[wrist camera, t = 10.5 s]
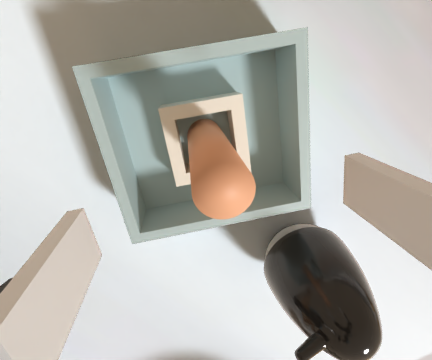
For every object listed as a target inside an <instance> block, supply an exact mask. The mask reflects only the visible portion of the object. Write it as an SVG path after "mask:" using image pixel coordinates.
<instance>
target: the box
mask: <svg viewBox="0 0 432 360" xmlns="http://www.w3.org/2000/svg"><path fill="white" fill-rule="evenodd" d="M72 69H73V71H74V74H75V77H76V80H77V83H78V86H79V89H80V92H81V95H82V98H83V101H84V104H85V107H86V110H87V113H88V116H89V119H90V121H91V124H92V127H93V130H94V133H95V136H96V139H97V142H98V145H99V148H100V151H101V154H102V157H103V160H104V163H105V166H106V168H107V171H108V174H109V177H110V180H111V183H112V186H113V189H114V192H115V195H116V198H117V201H118V204H119V207H120V210H121V213H122V216H123V218H124V221H125V224H126V227H127V230H128V233H129V236H130V239H131V242H132V244H136V243H141V242H146V241H151V240H156V239H161V238H166V237H170V236H175V235H180V234H185V233H190V232H195V231H200V230H205V229H210V228H215V227H220V226H225V225H230V224H235V223H240V222H245V221H250V220H255V219H260V218H265V217H270V216H275V215H279V214H284V213H289V212H294V211H299V210H304V209H309V208H311V170H310V120H309V69H308V27H306V28H300V29H294V30H288V31H282V32H276V33H270V34H264V35H258V36H252V37H246V38H240V39H234V40H228V41H222V42H216V43H210V44H204V45H198V46H192V47H186V48H180V49H174V50H168V51H162V52H156V53H150V54H144V55H138V56H132V57H126V58H120V59H114V60H108V61H102V62H96V63H90V64H84V65H78V66H72ZM200 119H210V120H212V121H214V122H215V123H217V125H218V126H219V127H220V129H221V130H222V132H223V133H224V134H225V136H226V137H227V139H228V140H229V142H230V143H231V145H232V146H233V147H234V149H235V150H236V152H237V153H238V155H239V156H240V158H241V159H242V160H243V162H244V163H245V165H246V166H247V168H248V169H249V171H250V172H251V173H252V175H253V177H254V180H255V184H256V192H255V197H254V199H253V201H252V203H251V205H250V206H249V207H248V208H247V209H246V210H245V211H244V212H243V213H241V214H240V215H238V216H236V217H233V218H230V219H221V220H220V219H213V218H210V217H208V216H206V215H204V214H203V213H201V212H200V211H199V210H198V208H197V207H196V206H195V204H194V202H193V199H192V192H191V179H190V166H189V153H188V140H187V133H188V130H189V128H190V126H191V125H192V124H193V123H194V122H195V121H197V120H200Z"/></svg>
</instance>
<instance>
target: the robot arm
mask: <svg viewBox="0 0 432 360" xmlns="http://www.w3.org/2000/svg"><path fill="white" fill-rule="evenodd" d="M343 203H344V204H345V205H346V206H348V207H349V208H350V209H352V210H353V211H354V212H356V213H357V214H358V215H359V216H361V217H362V218H363V219H365V220H366V221H367V222H369V223H370V224H371V225H373V226H374V227H375V228H377V229H378V230H379V231H381V232H382V233H383V234H385V235H386V236H387V237H388V238H390V239H391V240H392V241H394V242H395V243H396V244H398V245H399V246H400V247H402V248H403V249H404V250H406V251H407V252H408V253H410V254H411V255H412V256H414V257H415V258H416V259H417V260H419V261H420V262H421V263H423V264H424V265H425V266H427V267H428V268H429V269H431V270H432V183H430V182H428V181H425V180H423V179H421V178H418V177H416V176H413V175H411V174H409V173H406V172H404V171H401V170H399V169H397V168H394V167H392V166H389V165H387V164H385V163H382V162H380V161H377V160H375V159H373V158H370V157H368V156H366V155H363V154H361V153H355V154H350V155H345V162H344V195H343ZM101 256H102V253H101V251H100V248H99V246H98V243H97V241H96V238H95V236H94V233H93V231H92V228H91V226H90V223H89V221H88V218H87V216H86V213H85V211H84V208H82V209H77V210H72V211H67V212H66V213H65V215H64V216H63V217H62V218H61V220H60V221H59V222H58V223H57V225H56V226H55V227H54V228H53V229H52V231H51V232H50V233H49V234H48V236H47V237H46V238H45V239H44V240H43V242H42V243H41V244H40V245H39V247H38V248H37V249H36V250H35V252H34V253H33V254H32V255H31V256H30V258H29V259H28V260H27V261H26V263H25V264H24V265H23V266H22V268H21V269H20V270H19V271H18V272H17V274H16V275H15V276H14V277H13V278H11V279H9V280H8V281H6V282H5V283H4V284H2V285H1V286H0V360H58V359H59V357H60V354H61V352H62V350H63V347H64V345H65V342H66V340H67V338H68V335H69V333H70V330H71V328H72V326H73V323H74V321H75V318H76V316H77V314H78V311H79V309H80V307H81V304H82V302H83V299H84V297H85V295H86V292H87V290H88V287H89V285H90V283H91V280H92V278H93V275H94V273H95V271H96V268H97V266H98V264H99V261H100V259H101Z"/></svg>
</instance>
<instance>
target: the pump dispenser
mask: <svg viewBox="0 0 432 360" xmlns="http://www.w3.org/2000/svg"><path fill="white" fill-rule="evenodd" d="M264 274H265V278H266V280H267V283H268V285H269V287H270V289H271V291H272V293H273V294H274V296H275V298H276V299H277V301H278V302H279V304H280V305H281V307H282V308H283V310H284V311H285V312H286V314H287V315H288V316H289V317H290V319H291V320H292V321H293V322H294V323H295V324H296V326H297V327H298V328H299V329H300V330H301V331H302V332H303V333H304V334H305V335H306V336H307V337H308V339H307V340H306V341H305V342H304V343H303V344H302V345H301V346H299V347H298V348H297V349H296V351H295V356H296V358H297V360H309V359H311V358H312V357H313V356H315V355H316V354H318V353H319V352H321V351H322V350H323V351H325V352H326V353H328V354H329V355H331V356H332V357H334V358H336V359H338V360H370V359H371V358H372V357H374V356H375V354H376V353H377V352H378V350H379V348H380V346H381V342H382V326H381V320H380V315H379V311H378V308H377V305H376V302H375V299H374V296H373V293H372V291H371V288H370V286H369V283H368V281H367V279H366V277H365V275H364V273H363V271H362V269H361V267H360V266H359V264H358V262H357V261H356V259H355V258H354V256H353V255H352V253H351V252H350V250H349V249H348V247H347V246H346V245H345V244H344V242H343V241H342V240H341V239H340V238H339V237H338V236H337V235H336V234H335V233H333V232H332V231H330V230H327V229H325V228H321V227H318V226H315V225H311V224H296V225H292V226H289V227H286V228H284V229H283V230H281V231H280V232H279V233H277V234H276V235H275V236H274V237H273V239H272V240H271V242H270V243H269V245H268V248H267V251H266V255H265V263H264Z"/></svg>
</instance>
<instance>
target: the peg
mask: <svg viewBox="0 0 432 360" xmlns="http://www.w3.org/2000/svg"><path fill="white" fill-rule="evenodd" d="M187 140H188V153H189V166H190V179H191V192H192V199H193V202H194V204H195V206H196V207H197V208H198V210H199V211H200V212H201V213H203V214H204V215H206V216H208V217H210V218H213V219H220V220H221V219H230V218H233V217H236V216H238V215H240V214H241V213H243V212H244V211H245V210H246V209H247V208H248V207H249V206H250V205H251V203H252V201H253V199H254V197H255V192H256V184H255V180H254V177H253V175H252V173H251V172H250V171H249V169H248V168H247V166H246V165H245V163H244V162H243V160H242V159H241V158H240V156H239V155H238V153H237V152H236V150H235V149H234V147H233V146H232V145H231V143H230V142H229V140H228V139H227V137H226V136H225V134H224V133H223V132H222V130H221V129H220V127H219V126H218V125H217V123H215V122H214V121H212V120H210V119H200V120H197V121H195V122H194V123H193V124H192V125H191V126H190V128H189V130H188V133H187Z"/></svg>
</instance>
